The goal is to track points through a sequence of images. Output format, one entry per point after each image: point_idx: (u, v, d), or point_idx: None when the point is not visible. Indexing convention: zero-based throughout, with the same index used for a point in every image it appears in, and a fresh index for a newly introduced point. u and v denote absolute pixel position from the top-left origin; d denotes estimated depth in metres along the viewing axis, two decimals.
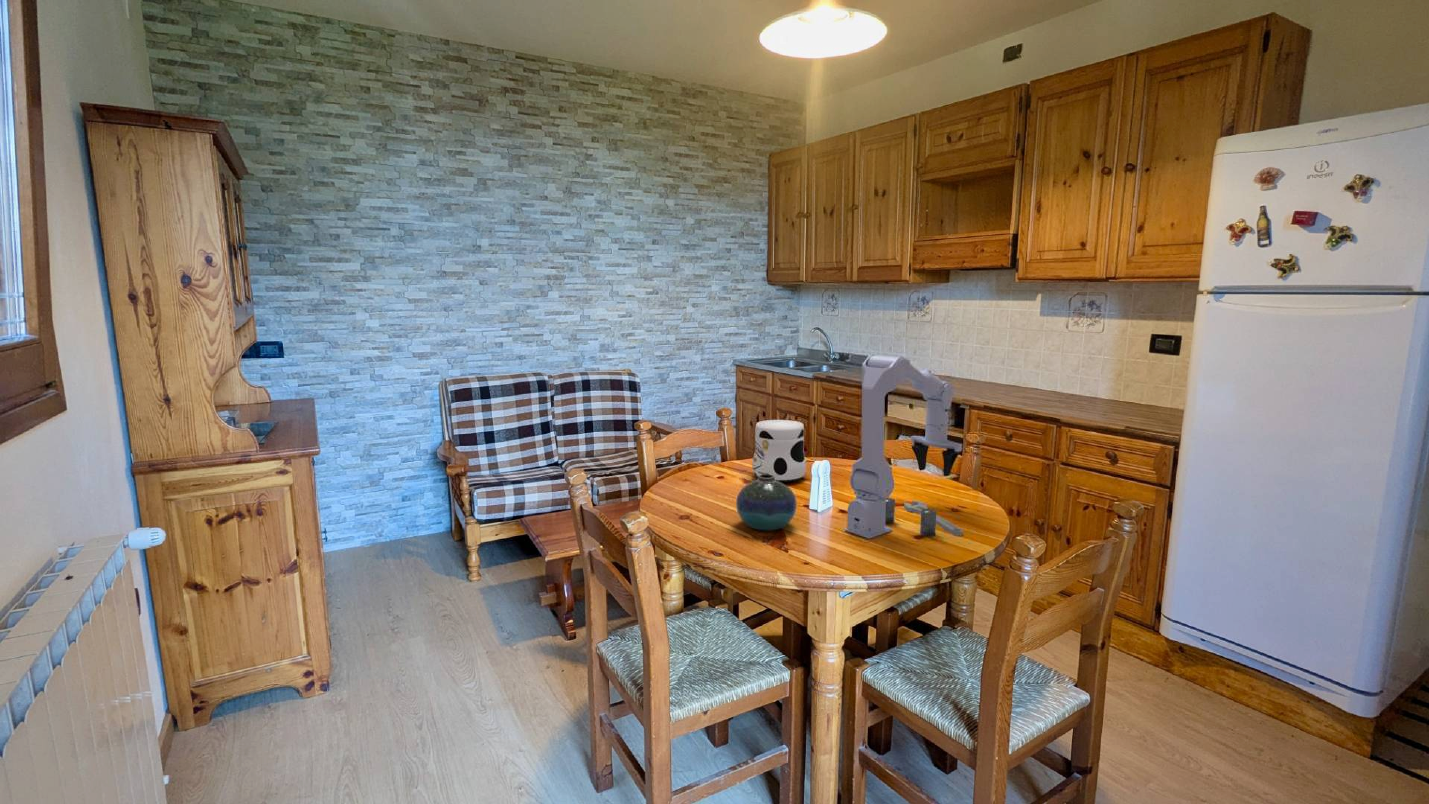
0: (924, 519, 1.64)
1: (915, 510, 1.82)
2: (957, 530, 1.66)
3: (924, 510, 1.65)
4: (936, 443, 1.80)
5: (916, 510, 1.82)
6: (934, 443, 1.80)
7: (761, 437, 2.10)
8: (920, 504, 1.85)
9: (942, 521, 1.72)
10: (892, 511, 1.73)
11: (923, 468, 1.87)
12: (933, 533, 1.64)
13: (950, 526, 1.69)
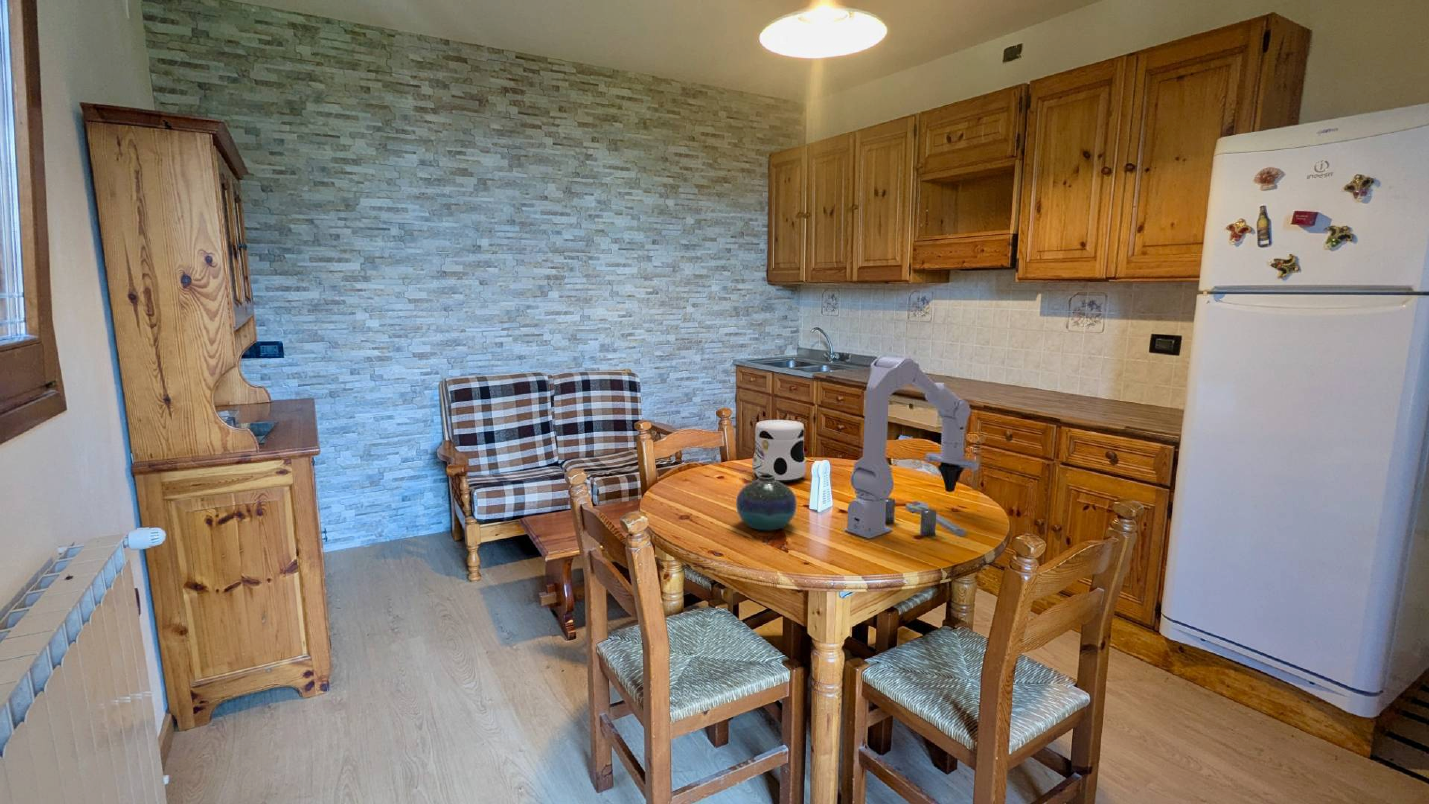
0: (924, 519, 1.64)
1: (917, 510, 1.82)
2: (960, 530, 1.66)
3: (924, 510, 1.65)
4: (952, 461, 1.77)
5: (918, 510, 1.81)
6: (950, 461, 1.77)
7: (761, 437, 2.10)
8: (922, 504, 1.85)
9: (944, 521, 1.72)
10: (892, 511, 1.73)
11: None
12: (933, 533, 1.64)
13: (953, 526, 1.69)
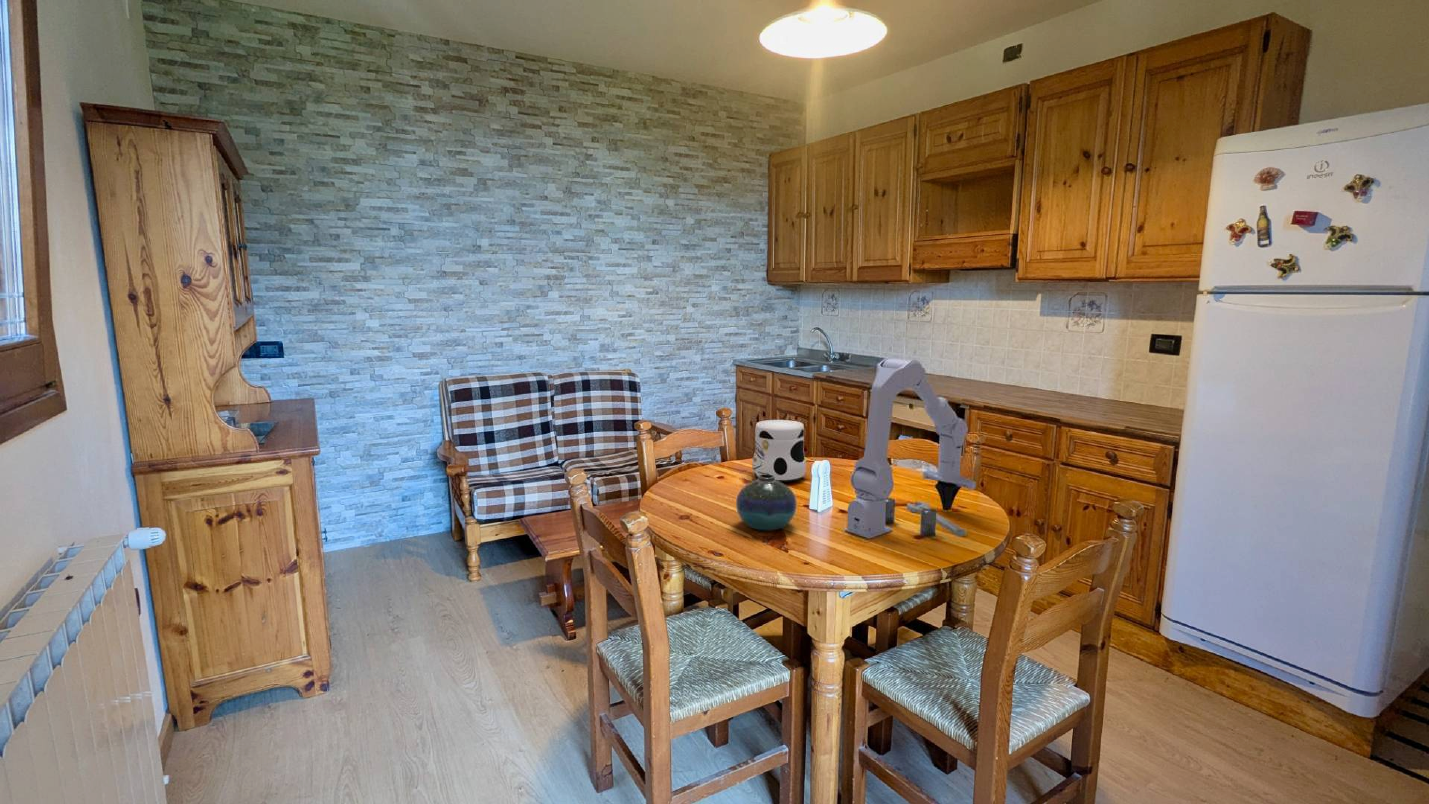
0: (924, 519, 1.64)
1: (918, 510, 1.81)
2: (960, 531, 1.66)
3: (924, 510, 1.65)
4: (949, 480, 1.77)
5: (919, 510, 1.81)
6: (947, 480, 1.78)
7: (761, 437, 2.10)
8: (923, 504, 1.85)
9: (945, 522, 1.72)
10: (892, 511, 1.73)
11: None
12: (933, 533, 1.64)
13: (953, 527, 1.68)
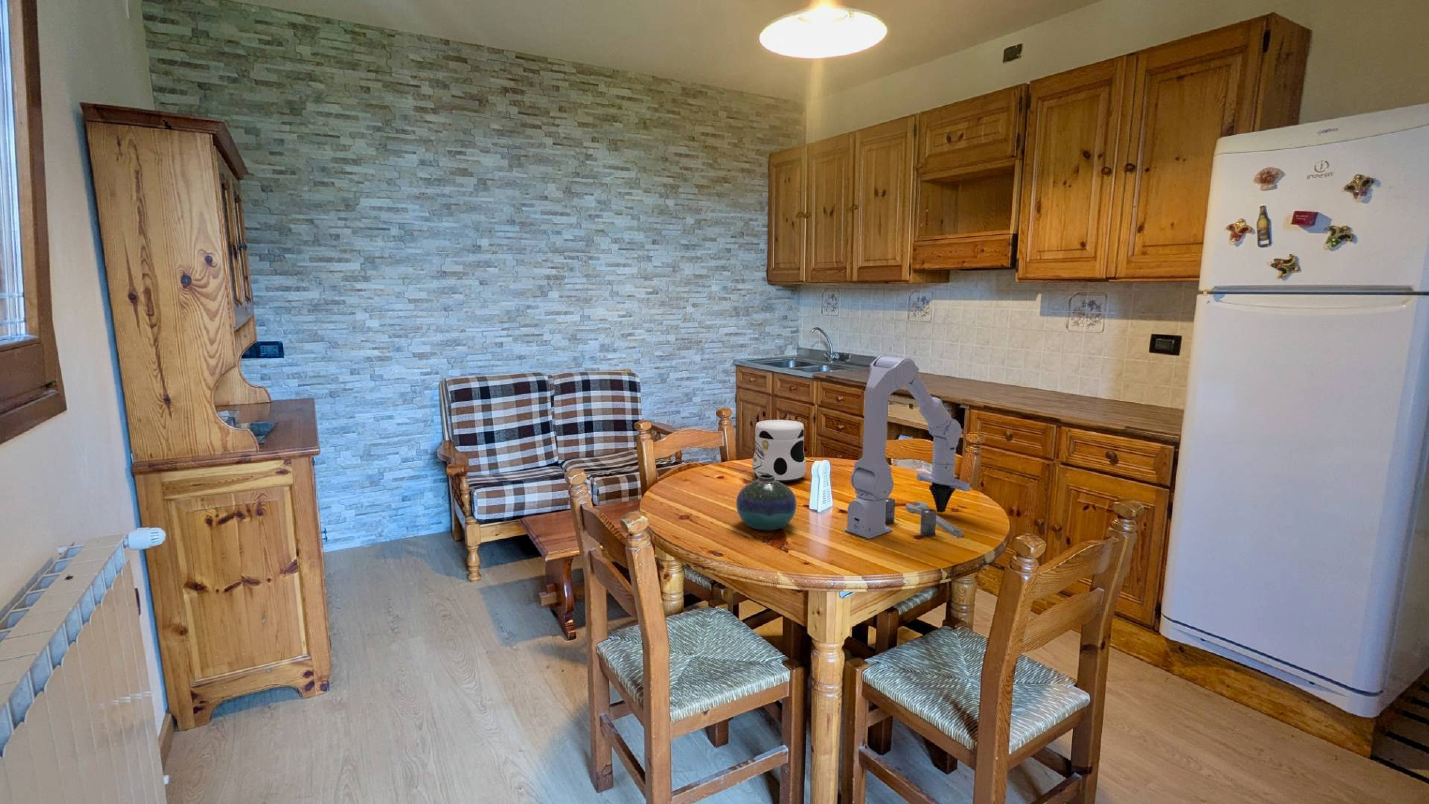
0: (924, 519, 1.64)
1: (916, 511, 1.81)
2: (957, 531, 1.66)
3: (924, 510, 1.65)
4: (943, 482, 1.75)
5: (917, 511, 1.81)
6: (941, 482, 1.76)
7: (761, 437, 2.10)
8: (922, 505, 1.85)
9: (943, 522, 1.72)
10: (892, 511, 1.73)
11: None
12: (933, 533, 1.64)
13: (950, 527, 1.68)
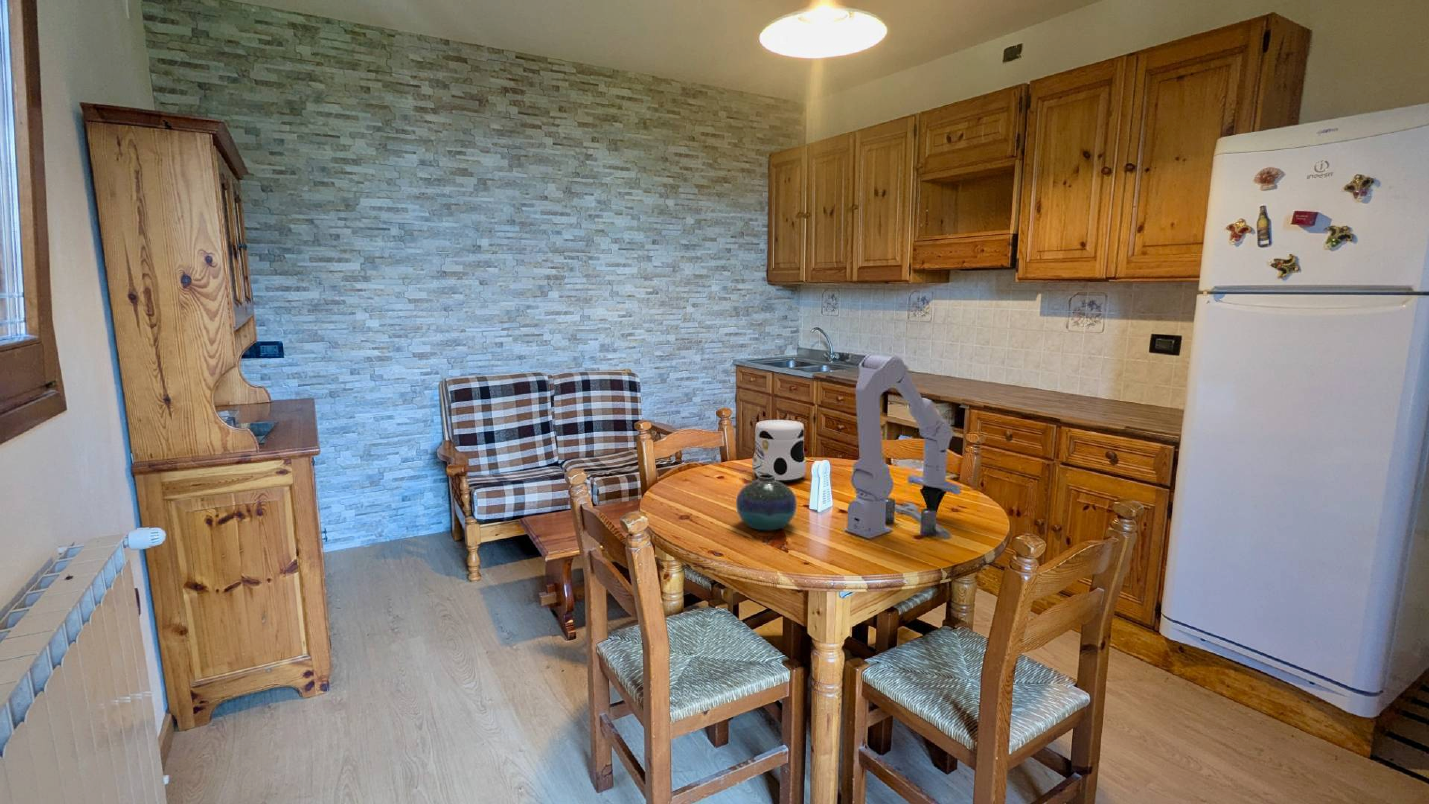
0: (924, 519, 1.64)
1: (905, 512, 1.80)
2: (945, 532, 1.65)
3: (924, 510, 1.65)
4: (934, 485, 1.73)
5: (906, 512, 1.80)
6: (932, 485, 1.73)
7: (761, 437, 2.10)
8: (910, 506, 1.84)
9: None
10: (892, 511, 1.73)
11: None
12: (933, 533, 1.64)
13: (938, 528, 1.67)
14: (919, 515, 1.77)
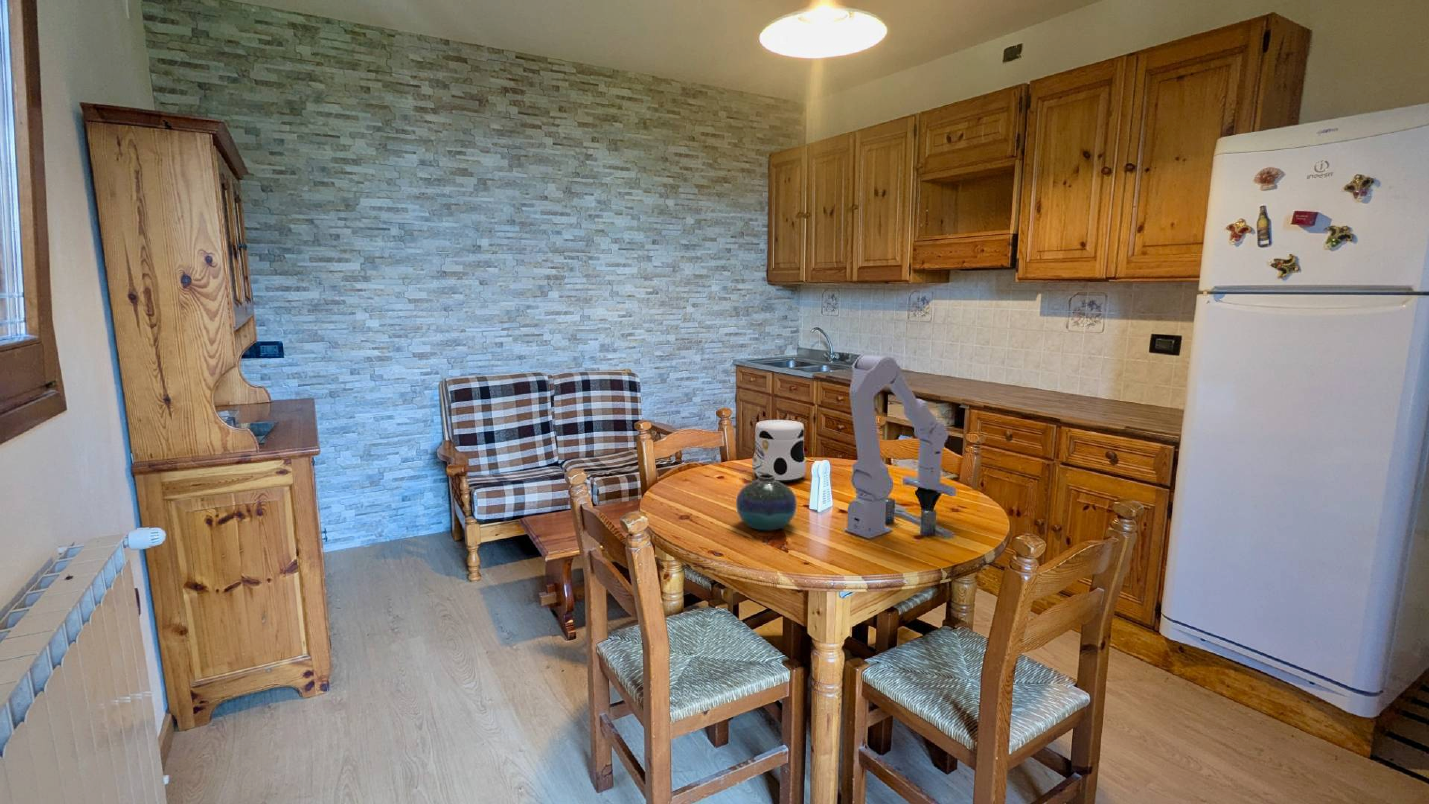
0: (924, 519, 1.64)
1: (895, 514, 1.79)
2: (946, 532, 1.65)
3: (924, 510, 1.65)
4: (929, 487, 1.71)
5: (896, 514, 1.79)
6: (927, 487, 1.71)
7: (761, 437, 2.10)
8: (897, 507, 1.83)
9: None
10: (892, 511, 1.73)
11: None
12: (933, 533, 1.64)
13: (938, 528, 1.67)
14: (911, 516, 1.76)
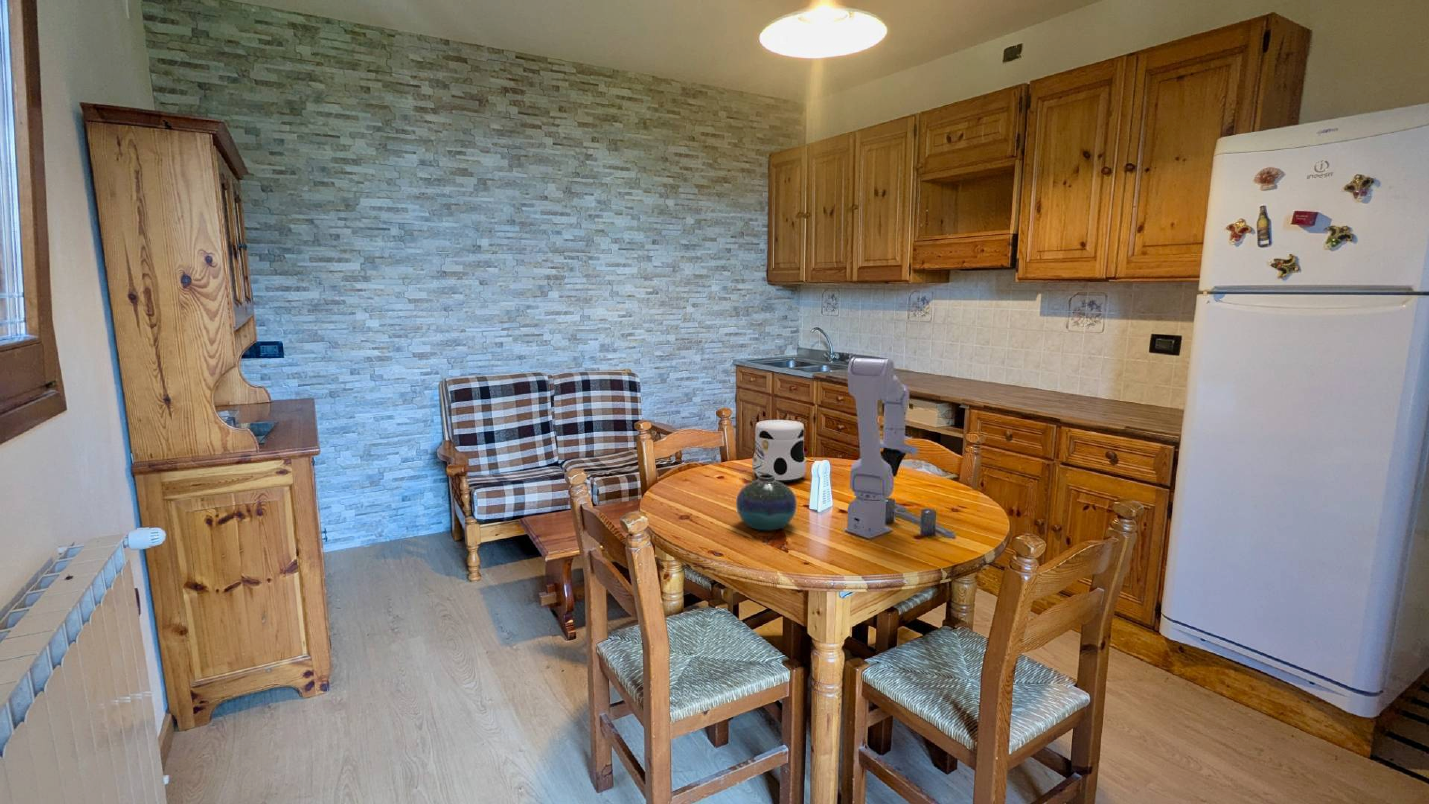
0: (924, 519, 1.64)
1: (897, 514, 1.79)
2: (948, 532, 1.65)
3: (924, 510, 1.65)
4: (893, 447, 1.79)
5: (898, 514, 1.79)
6: (891, 447, 1.80)
7: (761, 437, 2.10)
8: (899, 507, 1.83)
9: None
10: (892, 511, 1.73)
11: (892, 474, 1.84)
12: (933, 533, 1.64)
13: (940, 529, 1.67)
14: (913, 516, 1.76)
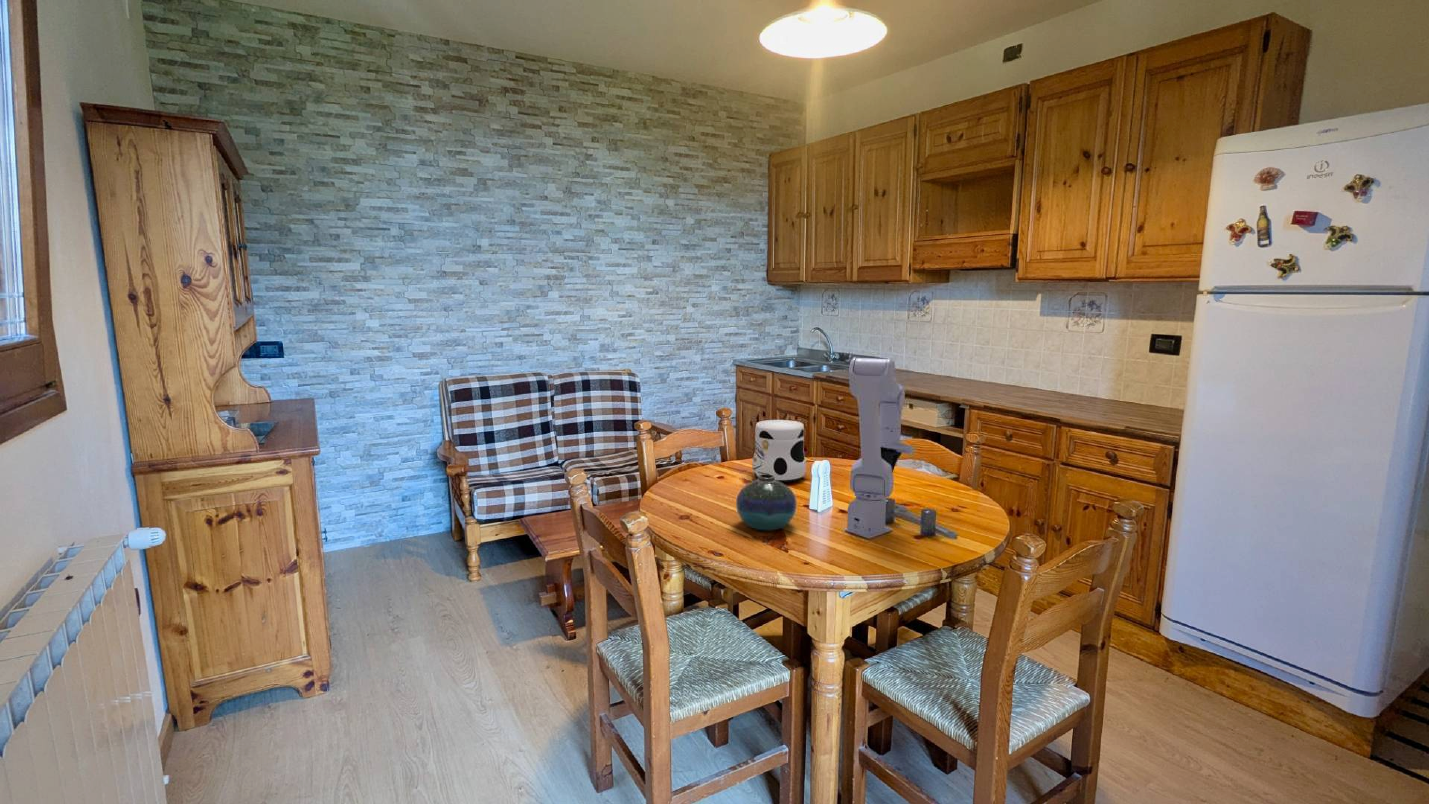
0: (924, 519, 1.64)
1: (898, 514, 1.79)
2: (950, 533, 1.65)
3: (924, 510, 1.65)
4: (889, 446, 1.80)
5: (899, 514, 1.78)
6: (887, 446, 1.80)
7: (761, 437, 2.10)
8: (900, 507, 1.83)
9: None
10: (892, 511, 1.73)
11: None
12: (933, 533, 1.64)
13: (942, 529, 1.67)
14: (915, 516, 1.76)
